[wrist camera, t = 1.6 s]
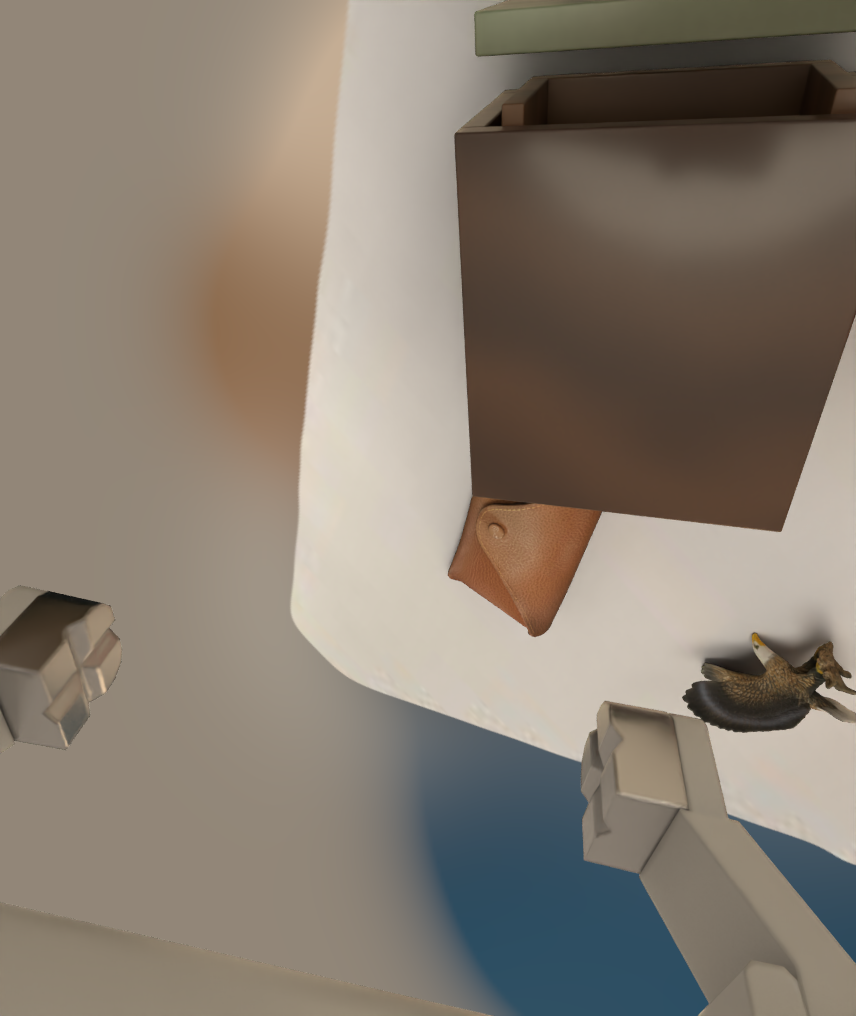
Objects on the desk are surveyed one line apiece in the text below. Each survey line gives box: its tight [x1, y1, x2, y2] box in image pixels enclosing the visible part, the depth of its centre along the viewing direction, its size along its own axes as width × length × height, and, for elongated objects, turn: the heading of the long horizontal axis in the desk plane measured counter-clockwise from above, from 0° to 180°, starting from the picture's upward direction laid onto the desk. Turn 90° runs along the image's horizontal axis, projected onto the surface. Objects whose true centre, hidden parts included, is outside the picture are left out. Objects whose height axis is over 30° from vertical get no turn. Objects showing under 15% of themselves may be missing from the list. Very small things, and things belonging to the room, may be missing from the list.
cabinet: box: [454, 72, 856, 532], centre depth 29 cm, size 16×14×9 cm
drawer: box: [474, 0, 856, 126], centre depth 24 cm, size 21×13×7 cm, turn 5°
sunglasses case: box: [448, 496, 602, 637], centre depth 42 cm, size 18×7×7 cm, turn 173°
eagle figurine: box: [682, 633, 856, 733], centre depth 43 cm, size 8×7×9 cm
